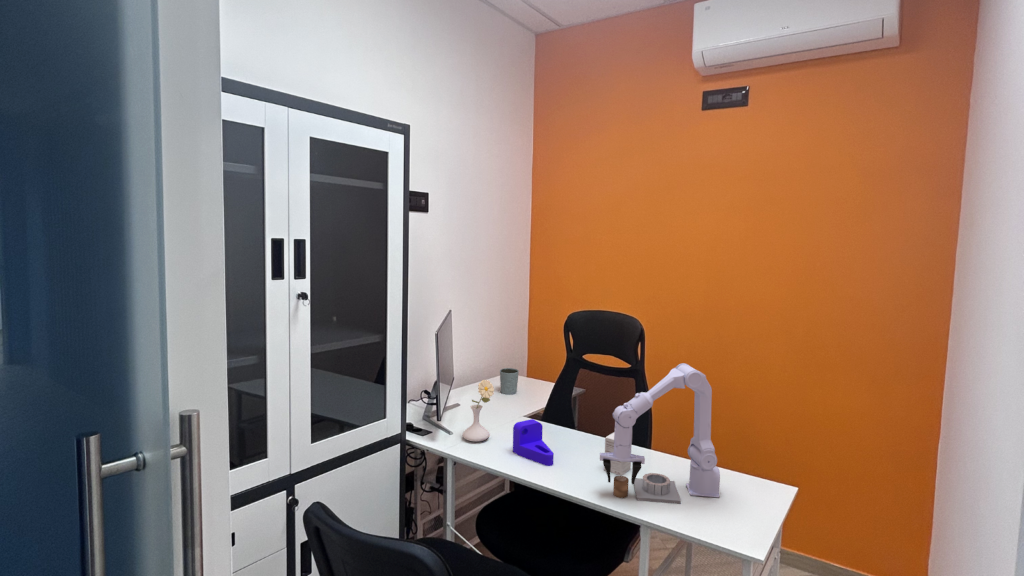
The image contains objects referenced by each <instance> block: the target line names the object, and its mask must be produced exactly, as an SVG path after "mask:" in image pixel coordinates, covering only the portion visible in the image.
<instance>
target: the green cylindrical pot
mask: <svg viewBox="0 0 1024 576" xmlns="http://www.w3.org/2000/svg"><path fill="white" fill-rule="evenodd" d="M519 372H520V371H519V370H518V369H516V368H513V367H505V368H504V367H503V368H501V369H499V383H500V385H499V386H500V393H501V394H502V395H506V396H507V395H508V396H510V395H511V396H512V395H515V394H517V392H518V391H517V390H518V382H519V374H520V373H519Z"/></svg>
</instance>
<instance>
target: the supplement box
mask: <svg viewBox="0 0 1024 576" xmlns="http://www.w3.org/2000/svg"><path fill="white" fill-rule="evenodd" d="M611 452H614V432H612V433H610V434H609V435H607V436H606V437H605V440H604V453H611ZM631 463H632V462H621V461H611V470H610V473H612V474H616V475H617V476H624V474H626V473H627V472H628V471H630V470H632V469H631V467H632V464H631ZM603 470H604V471H606V469H605V467H604V466H603Z"/></svg>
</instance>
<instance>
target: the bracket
mask: <svg viewBox="0 0 1024 576" xmlns="http://www.w3.org/2000/svg"><path fill="white" fill-rule="evenodd" d="M543 429H544V428H543V423H541V422H539V421H537V420H535V419H534V418H530V419H526V420H521V421H517V422H515V423H514V425H513V427H512V452H513V453H514V454H516V455H517V456H519V457H521V458H524V459H527V460H529V461H531V462H535V463H538V464H540V465H543V466H546V467H552V466H554V452H553V451H552V449H551V448H550V447H549V446H548V445H547V443H545V442H544V440H543Z"/></svg>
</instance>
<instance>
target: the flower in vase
mask: <svg viewBox="0 0 1024 576" xmlns="http://www.w3.org/2000/svg"><path fill="white" fill-rule="evenodd" d="M477 387H478V389H477V390H478V391H477V392H478V394H479V395H480V399H479V401H476V400H474V399H471V402H472V403H477V404H472V405H470V409H471V410H472V414H473V423H472V424H471V425H470V426H469V427H467V428H466V429H465V430H464V431H463V432H462V437H463V439H465V440H466V441H471V442H482V441H485V440H487V439H489V437H490V436H491V433H490V431H489V430H488V429H487V428H485V427H484V426H482V425H481V423H480V413H481V410H482V408H483V405H481V404H480V402H481V401H482V402H483V403H484V404H485V403H488V402H490V401H491V399H490V398H491V397H492V396H493V395H494V392H495V389H494V385H493V383H491V381H490V380H488V379H482V380H481V382H479V383H478V386H477Z"/></svg>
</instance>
